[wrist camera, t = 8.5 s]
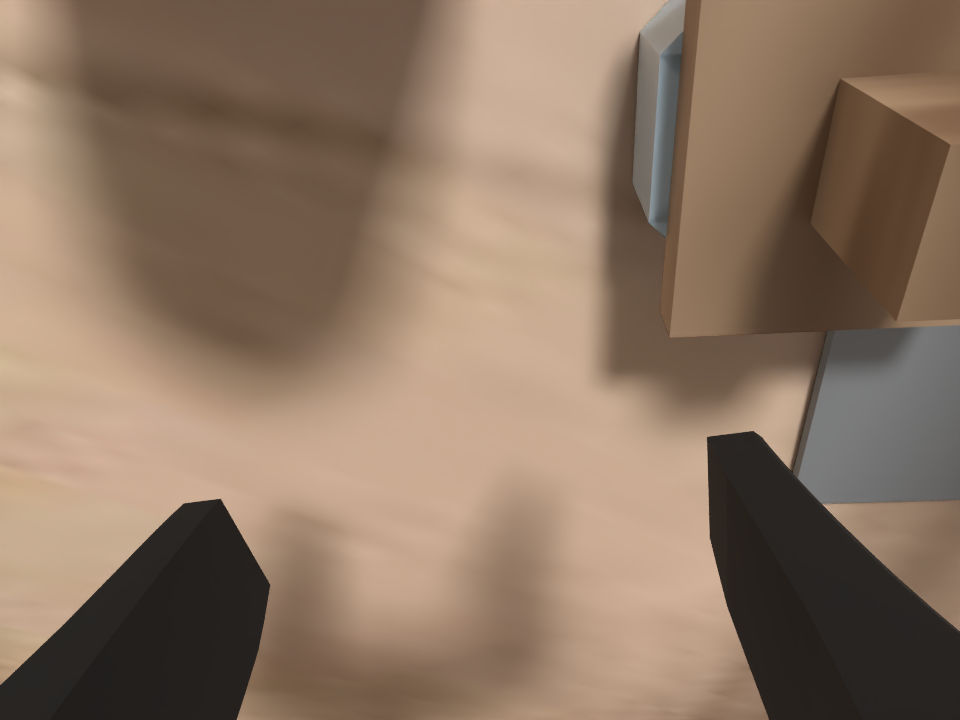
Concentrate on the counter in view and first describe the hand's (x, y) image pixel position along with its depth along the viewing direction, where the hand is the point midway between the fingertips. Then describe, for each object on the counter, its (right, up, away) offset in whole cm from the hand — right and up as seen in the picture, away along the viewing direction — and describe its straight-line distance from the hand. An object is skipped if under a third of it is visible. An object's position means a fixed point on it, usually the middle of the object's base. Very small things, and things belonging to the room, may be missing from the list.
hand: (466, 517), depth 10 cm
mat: (+15, +1, +11) cm, 18 cm away
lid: (+8, +7, +4) cm, 11 cm away
